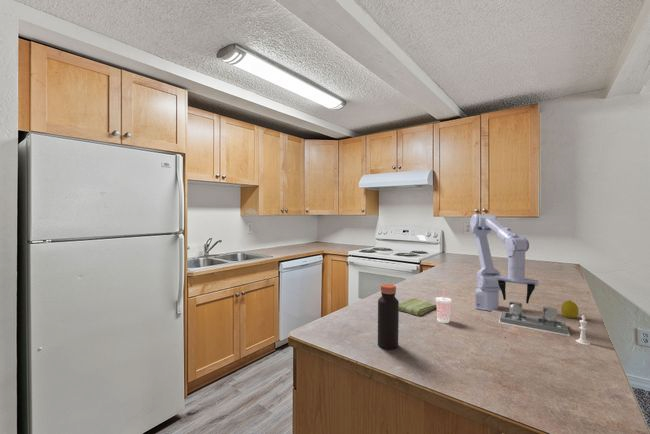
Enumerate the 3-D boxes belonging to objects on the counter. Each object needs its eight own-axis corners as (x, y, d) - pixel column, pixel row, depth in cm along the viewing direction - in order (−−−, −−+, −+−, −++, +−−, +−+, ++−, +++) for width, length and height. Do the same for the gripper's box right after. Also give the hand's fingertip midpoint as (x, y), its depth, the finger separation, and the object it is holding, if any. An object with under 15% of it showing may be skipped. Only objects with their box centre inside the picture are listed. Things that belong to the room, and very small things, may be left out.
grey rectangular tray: (498, 325, 118) (498, 318, 118) (500, 315, 129) (500, 309, 128) (570, 338, 105) (570, 331, 105) (566, 327, 116) (566, 320, 116)
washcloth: (438, 308, 139) (438, 301, 139) (419, 318, 127) (419, 310, 127) (413, 302, 148) (413, 295, 148) (393, 310, 136) (393, 303, 136)
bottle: (394, 351, 95) (394, 289, 95) (374, 346, 99) (374, 286, 98) (401, 343, 101) (401, 285, 100) (381, 339, 105) (382, 282, 104)
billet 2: (542, 327, 113) (543, 309, 113) (542, 323, 117) (542, 305, 117) (557, 330, 111) (557, 311, 111) (556, 326, 114) (556, 308, 114)
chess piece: (588, 342, 102) (588, 313, 102) (595, 349, 98) (596, 318, 97) (570, 340, 104) (571, 312, 104) (577, 346, 99) (577, 317, 99)
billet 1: (508, 320, 120) (508, 303, 120) (509, 317, 123) (510, 300, 123) (521, 323, 117) (521, 305, 117) (522, 320, 121) (523, 303, 120)
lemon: (581, 322, 121) (581, 302, 121) (565, 321, 122) (566, 301, 122) (573, 317, 127) (573, 298, 127) (558, 316, 128) (558, 298, 128)
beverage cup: (453, 320, 122) (454, 286, 122) (447, 324, 118) (448, 289, 118) (438, 317, 127) (439, 284, 126) (432, 320, 122) (433, 286, 122)
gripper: (494, 266, 120) (494, 300, 121) (538, 271, 112) (538, 307, 113) (496, 264, 126) (495, 296, 127) (538, 268, 118) (537, 302, 118)
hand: (515, 301), depth 120 cm, fingers open, 7 cm apart
